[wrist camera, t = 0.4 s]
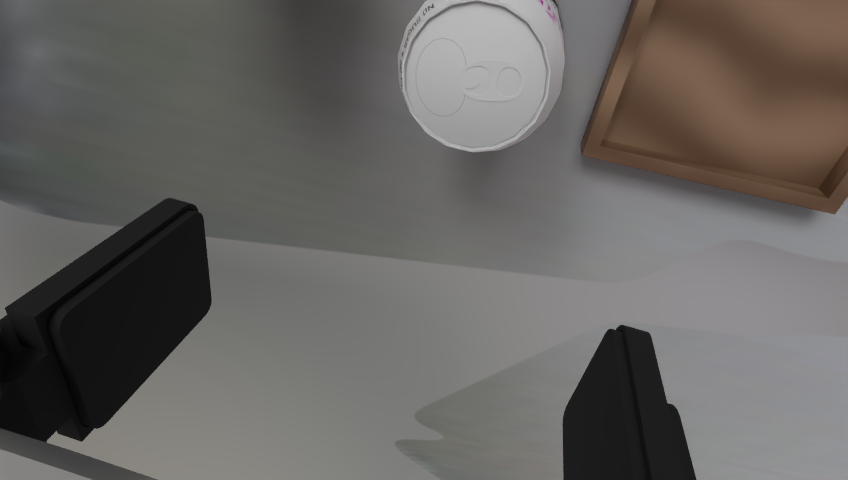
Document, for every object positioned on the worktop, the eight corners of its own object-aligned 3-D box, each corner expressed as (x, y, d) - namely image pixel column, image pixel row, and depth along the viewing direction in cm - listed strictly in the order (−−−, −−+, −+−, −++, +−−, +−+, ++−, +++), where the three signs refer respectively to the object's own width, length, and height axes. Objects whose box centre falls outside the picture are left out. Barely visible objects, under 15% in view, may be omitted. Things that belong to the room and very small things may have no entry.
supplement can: (446, 84, 38) (393, 157, 26) (448, -37, 34) (385, -20, 21) (552, 90, 36) (551, 170, 24) (569, -37, 32) (577, -18, 20)
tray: (684, -144, 28) (693, -149, 26) (1023, -88, 26) (1057, -89, 24) (580, 144, 38) (581, 155, 36) (820, 200, 36) (834, 214, 34)
